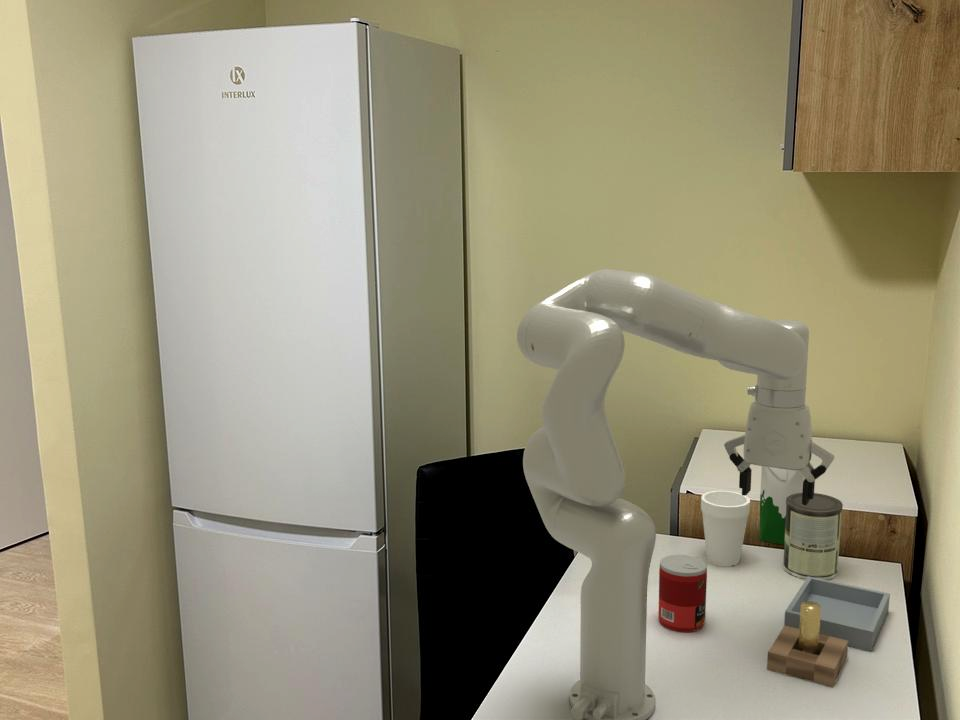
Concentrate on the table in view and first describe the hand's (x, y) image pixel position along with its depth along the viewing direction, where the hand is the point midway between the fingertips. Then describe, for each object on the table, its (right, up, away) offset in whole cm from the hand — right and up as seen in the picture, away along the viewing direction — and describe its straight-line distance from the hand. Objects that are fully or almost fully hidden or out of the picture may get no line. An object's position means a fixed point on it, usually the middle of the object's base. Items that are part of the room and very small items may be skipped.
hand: (775, 497), depth 154 cm
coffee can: (+16, -19, +29) cm, 38 cm away
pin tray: (+13, -23, +8) cm, 27 cm away
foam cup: (0, -18, +34) cm, 38 cm away
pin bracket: (+3, -26, -5) cm, 26 cm away
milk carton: (+15, -15, +44) cm, 49 cm away
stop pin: (+3, -26, -5) cm, 26 cm away
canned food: (-14, -23, +9) cm, 28 cm away
